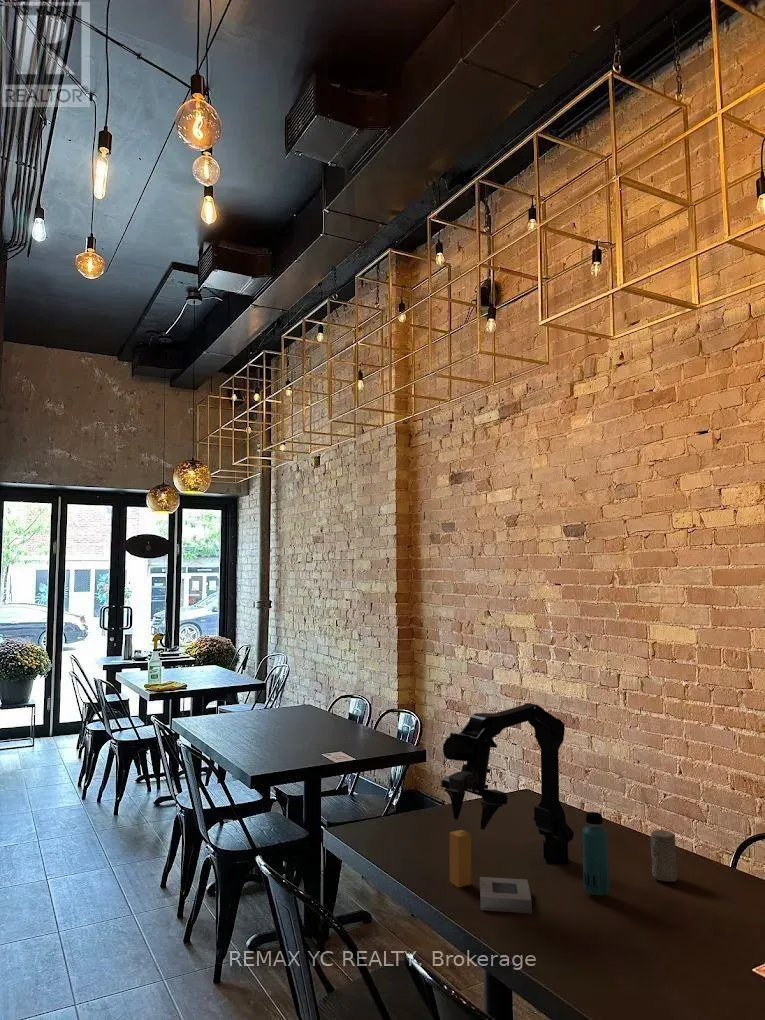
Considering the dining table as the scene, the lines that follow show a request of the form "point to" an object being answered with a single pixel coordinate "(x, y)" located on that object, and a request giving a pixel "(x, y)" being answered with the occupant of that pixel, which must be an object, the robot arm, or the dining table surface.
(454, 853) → the orange rectangular block
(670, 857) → the decorative vessel
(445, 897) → the dining table surface
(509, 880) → the gray square socket base
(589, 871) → the beverage bottle
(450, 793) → the robot arm
